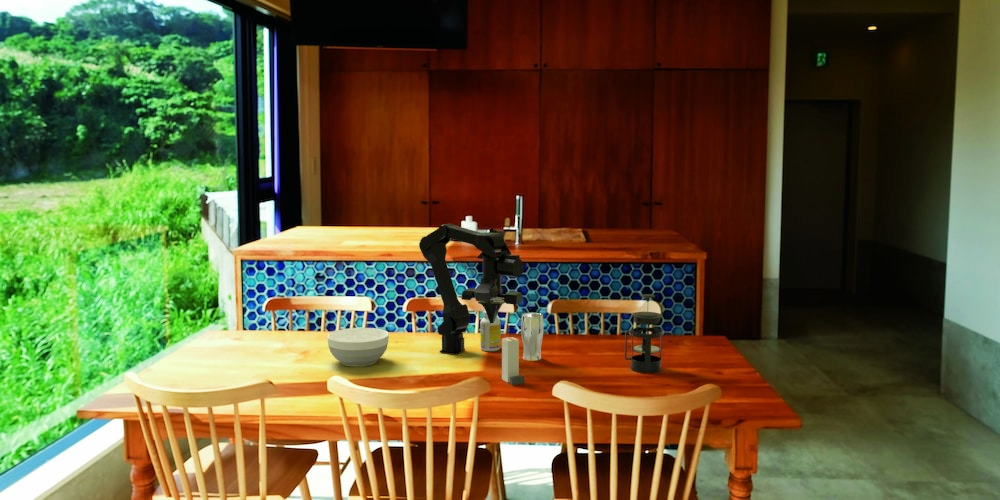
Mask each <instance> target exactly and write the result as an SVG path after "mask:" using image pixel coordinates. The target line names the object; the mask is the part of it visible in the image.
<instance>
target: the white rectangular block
mask: <svg viewBox="0 0 1000 500" xmlns="http://www.w3.org/2000/svg"><path fill="white" fill-rule="evenodd" d="M519 345H520V340H519V338H516V337H513V336H511V337H510V336H506V337H503V338H501V380H503V381H504V382H506V383H510V377H511V376H518V375H520V373H519V371H520V367H519V366H520V365H519V362H520V361H519V359H520V356H519V355H520V354H519V353H520V351H519V349H520V346H519Z"/></svg>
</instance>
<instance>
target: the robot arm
mask: <svg viewBox="0 0 1000 500" xmlns="http://www.w3.org/2000/svg"><path fill="white" fill-rule="evenodd" d="M451 240H455V241H458V242H461V243H462V242H463V243H465V244H470V245H472V246H473V247H474V248H476V250H479V251H480V254H478V256H476V258H477V259H478V260H482V277H481V278H480V284H479V285H477V287H476V288H472V287H470V288H466V289H464V290H463V291H462V292H461V300H464V301H471V300H472V299H475V301H476V302H477V303H478V304H480V305H481V306H482V307H483V308H484V311H486V313H487V316H488V319H489V321H490V323H494V321H495V318H496V316H497V317H498V315H497V314H499V310H500V309H501V307H502V306H503V305H504V304H506V305H517V304H520V303H522V302H524V298H523V297H524V296H523V293H522V292H521V291H520V292H518V291H510V292H507V293H504V291H503V289H502V281H503V280H504V277H510V278H517V279H518V278H521V276H522V275H523V273H524V267H525V264H524V262H523V260H521V258H520V255H519V254H512V252H511V250H510V248H509V247H508V245H507V243H506V241H505V239H504V237H503V235H502V234H501V233H499V232H480V231H476V230H473V229H469V228H465V227H463V226H458V225H456V224H453V223H446V224H442V225H440V226H439V227H438V228H436V229H435V230H434V231H432V232H430V233H428V234H427V235H426V236H422V237H421V238H420V241H419V242H418V246H419V250H420V252H421V254H422V256H423V258H424V259H425V260H426V261H427V262H428V263H429V264H430V266H431V270H432V272H433V276H434V279H435V282H436V285H437V288H438V291H439V294H440V297H441V300H442V304H443V310H442V314H441V316H442V320H443V321H442V322H441V323H440V325H439V326H437V328H436V330H437V333H438V335H439V336H441V349H440V350H439V353H442V354H449V355H450V354H451V355H459V354H461V353H463V352H465V351H466V348H465V337H464V333H466V332H467V329H468V326H469V324H470V323H471V313H470V311H469V307H468V305H467V304H466V303H464V304H462V303H461V302H460V301H459V299H458V295H457V292H456V289H455V286H454V282H453V279H452V276H451V273H450V271H449V267H448V264H447V261H446V256H447V251H448V250H447V245H448V244H449V243H450V242H451Z"/></svg>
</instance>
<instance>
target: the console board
mask: <svg viewBox="0 0 1000 500" xmlns="http://www.w3.org/2000/svg"><path fill="white" fill-rule="evenodd" d="M509 385H510V386H512V387H513V386H517V385H518V386H519V385H525V375H524V374H519V375H518V376H511V377H510V382H509Z"/></svg>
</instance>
